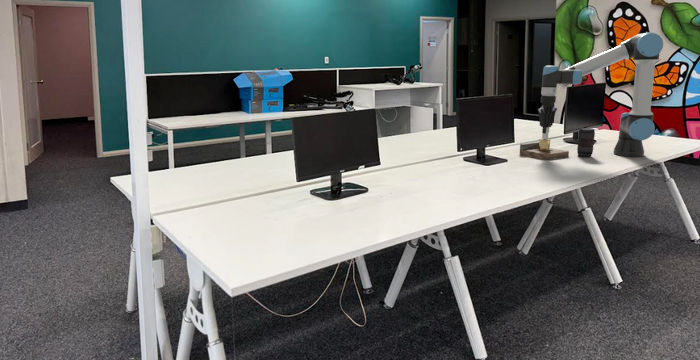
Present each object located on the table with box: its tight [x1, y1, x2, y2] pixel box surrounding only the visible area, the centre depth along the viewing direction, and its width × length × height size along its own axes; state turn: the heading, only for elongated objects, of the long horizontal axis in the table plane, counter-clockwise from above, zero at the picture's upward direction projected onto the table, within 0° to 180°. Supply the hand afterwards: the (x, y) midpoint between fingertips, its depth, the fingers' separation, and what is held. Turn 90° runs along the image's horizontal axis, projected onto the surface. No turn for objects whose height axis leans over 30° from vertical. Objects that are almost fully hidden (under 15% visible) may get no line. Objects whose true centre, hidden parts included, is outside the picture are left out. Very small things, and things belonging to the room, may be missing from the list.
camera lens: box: [576, 128, 596, 159], centre depth 301 cm, size 8×8×15 cm
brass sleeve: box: [538, 138, 551, 152], centre depth 304 cm, size 6×6×9 cm
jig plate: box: [519, 141, 570, 161], centre depth 304 cm, size 18×18×6 cm
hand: (545, 139), depth 303 cm, fingers closed
